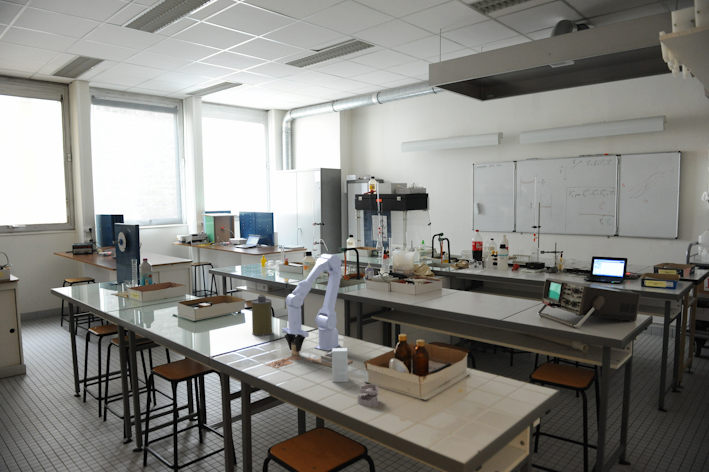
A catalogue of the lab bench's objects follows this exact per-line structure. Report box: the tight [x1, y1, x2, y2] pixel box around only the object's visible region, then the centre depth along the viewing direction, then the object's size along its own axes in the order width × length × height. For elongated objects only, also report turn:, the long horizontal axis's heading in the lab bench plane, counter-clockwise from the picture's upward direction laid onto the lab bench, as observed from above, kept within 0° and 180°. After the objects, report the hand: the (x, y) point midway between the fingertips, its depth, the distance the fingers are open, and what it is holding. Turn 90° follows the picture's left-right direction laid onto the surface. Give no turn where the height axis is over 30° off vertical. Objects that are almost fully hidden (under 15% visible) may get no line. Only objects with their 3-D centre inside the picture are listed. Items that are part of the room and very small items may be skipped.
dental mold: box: [356, 383, 379, 408], centre depth 160 cm, size 8×7×5 cm
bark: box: [264, 355, 316, 369], centre depth 200 cm, size 22×12×1 cm, turn 139°
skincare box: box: [331, 347, 349, 383], centre depth 180 cm, size 6×4×12 cm
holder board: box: [311, 351, 353, 368], centre depth 200 cm, size 10×14×3 cm
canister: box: [251, 294, 273, 337], centre depth 247 cm, size 11×10×20 cm
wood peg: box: [290, 341, 300, 357], centre depth 211 cm, size 4×4×6 cm
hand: (295, 350), depth 211 cm, fingers closed on wood peg, 3 cm apart
